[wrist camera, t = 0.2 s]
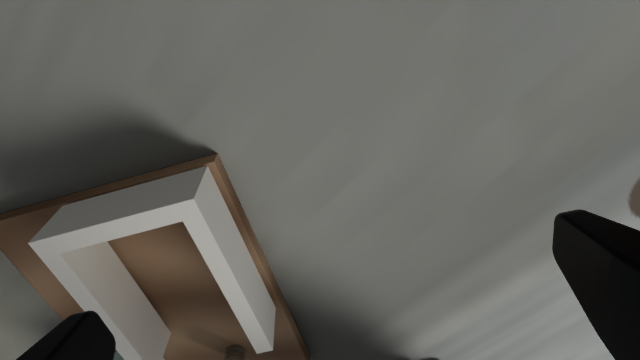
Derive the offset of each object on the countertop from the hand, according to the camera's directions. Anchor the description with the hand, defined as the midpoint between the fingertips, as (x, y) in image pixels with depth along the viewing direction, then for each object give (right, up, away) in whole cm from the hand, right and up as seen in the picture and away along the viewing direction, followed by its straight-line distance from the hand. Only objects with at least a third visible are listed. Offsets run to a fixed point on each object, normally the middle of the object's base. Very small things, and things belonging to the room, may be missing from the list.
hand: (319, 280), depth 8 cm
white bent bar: (-8, -3, +16) cm, 19 cm away
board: (-10, -6, +19) cm, 23 cm away
